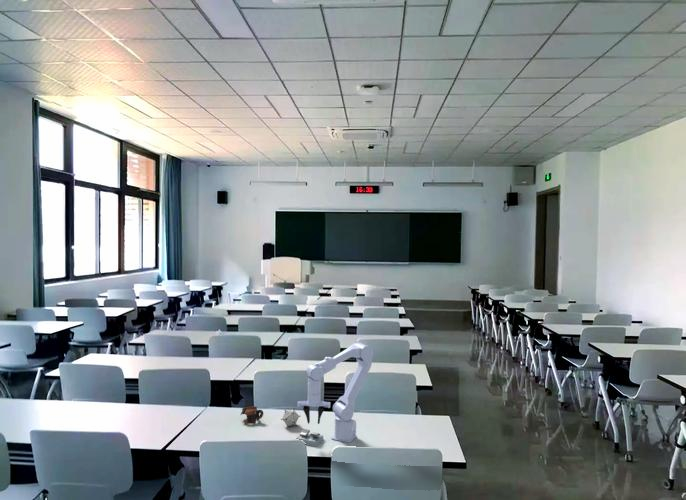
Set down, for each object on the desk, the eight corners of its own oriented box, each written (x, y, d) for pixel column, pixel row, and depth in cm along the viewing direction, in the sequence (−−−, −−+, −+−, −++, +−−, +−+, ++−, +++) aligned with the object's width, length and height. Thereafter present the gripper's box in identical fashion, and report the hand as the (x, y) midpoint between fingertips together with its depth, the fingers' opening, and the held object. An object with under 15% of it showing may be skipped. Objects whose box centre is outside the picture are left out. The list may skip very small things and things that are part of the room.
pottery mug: (237, 425, 233) (237, 408, 237) (246, 427, 242) (245, 410, 245) (260, 421, 231) (259, 403, 235) (268, 423, 240) (267, 406, 243)
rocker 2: (319, 435, 217) (320, 433, 217) (316, 436, 213) (316, 434, 213) (313, 434, 218) (314, 432, 218) (310, 435, 214) (310, 433, 214)
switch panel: (323, 439, 218) (323, 434, 218) (316, 446, 211) (316, 440, 211) (303, 435, 222) (303, 430, 222) (296, 442, 215) (296, 436, 215)
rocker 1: (309, 431, 218) (309, 429, 218) (306, 437, 215) (305, 435, 215) (303, 430, 219) (303, 428, 219) (300, 435, 216) (299, 433, 216)
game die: (286, 434, 232) (274, 417, 232) (295, 422, 239) (283, 406, 239) (298, 429, 227) (285, 413, 226) (307, 417, 234) (294, 401, 233)
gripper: (331, 390, 217) (330, 419, 217) (299, 389, 217) (298, 418, 218) (329, 395, 210) (329, 426, 210) (296, 394, 210) (296, 424, 211)
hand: (313, 422), depth 214 cm, fingers open, 4 cm apart
